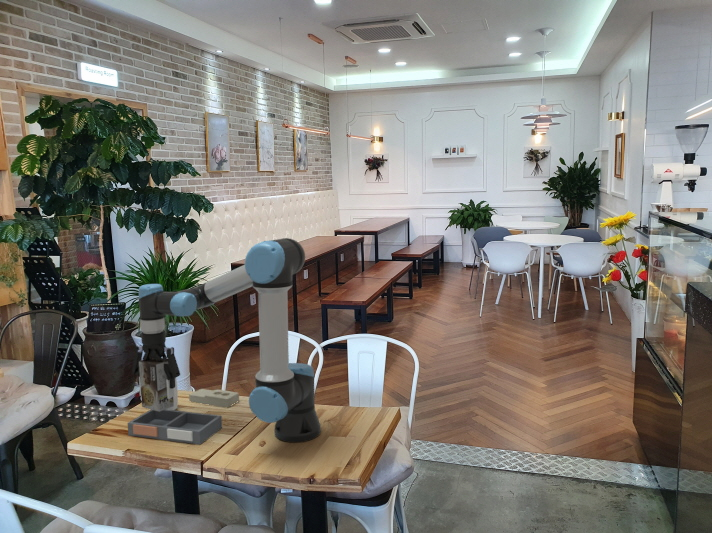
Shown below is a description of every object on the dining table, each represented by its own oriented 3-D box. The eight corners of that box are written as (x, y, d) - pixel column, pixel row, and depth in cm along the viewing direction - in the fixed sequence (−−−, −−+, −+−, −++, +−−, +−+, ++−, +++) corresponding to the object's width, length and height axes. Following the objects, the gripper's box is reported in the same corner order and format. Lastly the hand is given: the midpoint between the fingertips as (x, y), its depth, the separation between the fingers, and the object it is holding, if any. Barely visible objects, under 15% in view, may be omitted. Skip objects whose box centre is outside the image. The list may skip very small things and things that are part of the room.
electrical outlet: (201, 386, 222) (239, 392, 214) (201, 396, 222) (239, 402, 215) (188, 392, 215) (227, 398, 208) (189, 402, 216) (228, 409, 208)
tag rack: (222, 427, 191) (221, 415, 190) (199, 445, 177) (198, 432, 177) (154, 419, 198) (153, 408, 198) (127, 436, 185) (126, 423, 185)
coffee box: (174, 406, 189) (172, 359, 187) (158, 412, 184) (156, 364, 182) (156, 401, 194) (154, 355, 192) (140, 407, 189) (137, 360, 187)
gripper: (189, 330, 186) (192, 395, 189) (132, 326, 193) (136, 389, 195) (175, 335, 179) (179, 403, 182) (116, 331, 185) (121, 396, 188)
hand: (157, 395), depth 189 cm, fingers closed on coffee box, 10 cm apart
